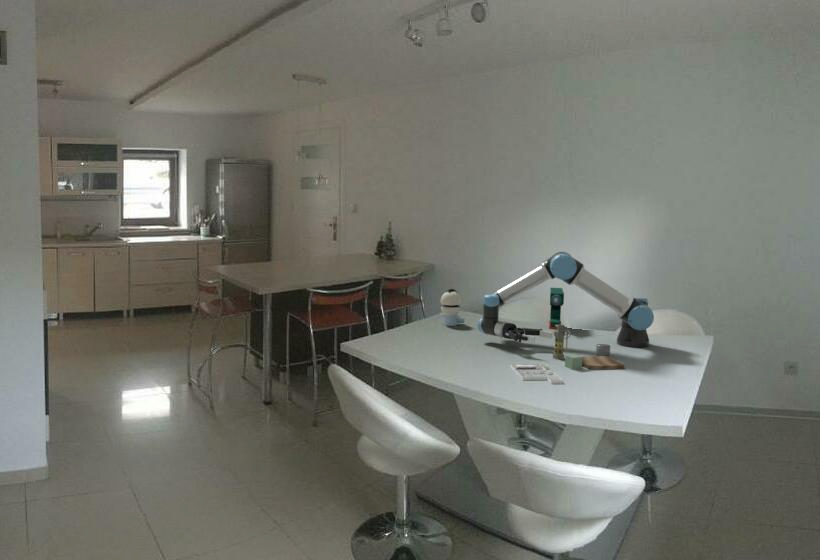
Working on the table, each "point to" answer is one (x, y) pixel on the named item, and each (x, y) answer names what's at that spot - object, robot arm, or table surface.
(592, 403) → the table surface
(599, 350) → the grey rounded block
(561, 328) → the grenade
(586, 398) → the table surface
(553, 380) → the floor plan model
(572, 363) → the green block
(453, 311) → the toy
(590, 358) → the walnut board
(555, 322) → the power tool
